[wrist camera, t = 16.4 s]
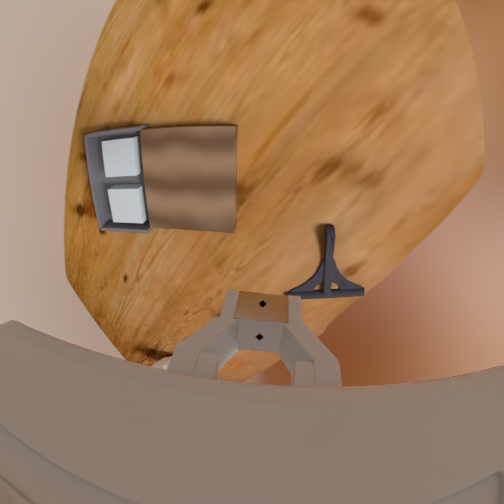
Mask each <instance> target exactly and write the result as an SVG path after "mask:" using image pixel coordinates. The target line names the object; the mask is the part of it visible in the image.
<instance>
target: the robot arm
mask: <svg viewBox="0 0 504 504" xmlns="http://www.w3.org/2000/svg"><path fill="white" fill-rule="evenodd" d="M238 349H239V350H252V351H263V352H272V353H279V355H280V357H281V359H282V360H283V362H284V363H285V365H286V367H287V368H288V370H289V372H290V373H291V375H292V378H291V381H290V385H289V386H279V385H266V384H254V383H245V382H236V381H228V380H220V375H219V369H220V368H221V367H222V366H223V365H224V364H225V363H226V362H227V361H228V360H229V359H230V358H231V357H232V356H233V355H234V354H235V353H236V352H237V351H238ZM258 349H259V350H258ZM0 504H504V366H497V367H493V368H489V369H486V370H481V371H477V372H473V373H468V374H463V375H458V376H453V377H447V378H441V379H434V380H428V381H420V382H412V383H403V384H392V385H380V386H362V387H361V386H360V387H342V382H341V374H340V365H339V361H338V360H337V359H336V358H335V357H334V356H333V355H332V354H331V353H330V351H329V350H328V349H327V348H326V347H325V346H324V345H323V343H322V342H321V341H320V340H319V339H318V338H317V337H316V336H315V334H314V333H313V332H312V331H311V330H310V329H309V328H308V327H307V325H302V308H301V297H300V296H291V295H288V296H287V295H273V294H262V293H253V292H244V291H234V290H227V292H226V295H225V299H224V303H223V306H222V310H221V314H220V317H215V318H214V319H212V320H211V321H210V322H208V323H207V324H206V325H204V326H203V327H202V328H200V329H199V330H198V331H196V332H195V333H193V334H192V335H191V336H189V337H188V338H187V339H185V340H184V341H183V342H181V343H180V344H178V345H177V346H176V347H175V350H174V352H173V355H172V358H171V360H170V363H169V366H168V368H167V370H164V369H159V368H154V367H150V366H146V365H142V364H138V363H134V362H130V361H126V360H122V359H119V358H115V357H112V356H108V355H105V354H102V353H98V352H95V351H92V350H89V349H86V348H83V347H80V346H77V345H74V344H71V343H68V342H66V341H63V340H60V339H58V338H55V337H52V336H50V335H47V334H45V333H42V332H40V331H38V330H35V329H33V328H31V327H28V326H26V325H24V324H22V323H20V322H17V321H14V320H11V321H8V322H6V323H3V324H1V325H0Z"/></svg>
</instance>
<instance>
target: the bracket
mask: <svg viewBox="0 0 504 504" xmlns="http://www.w3.org/2000/svg"><path fill="white" fill-rule="evenodd" d="M334 244H335V228H334V226H333V225H332V226H326V234H325V259H323V261H322V263H321V266H320V268H319V270H318V271H317V273H316V274H315V275H314V276H313V277H312V278H311V279H310V280H308V281H307V282H306V283H304V284H302V285H301V286H299V287H296V288H294V289H291V290H290V291H288V295H291V296H300V297H301V299H318V298H336V297H352V296H364V288H362V286H360V285H357V284H354V283H352V282H350V281H348V280H347V279H346V278H344V277H343V276H342V275H341V274H340V272H339V271H338V269H337V267H336V264H335V261H334V259H333V253H334ZM332 282H333V283H336V284H338V285H339V289H331V283H332ZM320 283H324V286H323V290H314V288H315V287H316V286H317V285H318V284H320Z"/></svg>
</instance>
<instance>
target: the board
mask: <svg viewBox="0 0 504 504" xmlns="http://www.w3.org/2000/svg"><path fill="white" fill-rule="evenodd" d="M237 128H238V125H186V126H167V127H154V128H146V129H143V130H140V138H141V153H142V165H143V175H144V185H145V193H146V202H147V209H148V217H149V223H150V227H151V228H168V229H184V230H199V231H214V232H229V233H234V230H235V228H236V187H237Z"/></svg>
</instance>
